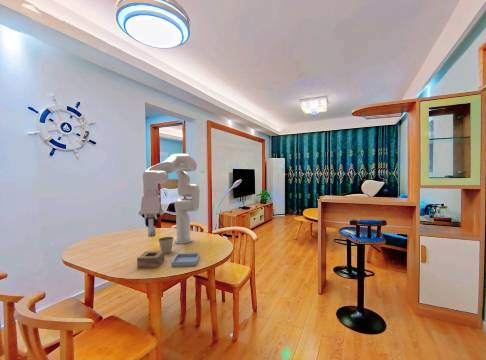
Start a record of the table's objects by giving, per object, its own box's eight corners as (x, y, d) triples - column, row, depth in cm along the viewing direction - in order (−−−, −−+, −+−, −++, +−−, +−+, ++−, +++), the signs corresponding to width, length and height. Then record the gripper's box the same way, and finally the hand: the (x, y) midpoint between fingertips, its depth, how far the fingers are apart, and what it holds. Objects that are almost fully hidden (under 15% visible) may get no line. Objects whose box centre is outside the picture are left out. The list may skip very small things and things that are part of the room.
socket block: (145, 259, 132) (145, 251, 132) (164, 259, 133) (164, 250, 133) (137, 267, 121) (137, 258, 121) (158, 267, 122) (158, 257, 122)
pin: (149, 234, 129) (148, 213, 129) (158, 234, 130) (157, 213, 129) (145, 237, 124) (145, 215, 124) (154, 237, 125) (154, 215, 124)
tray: (177, 257, 135) (177, 253, 135) (199, 257, 136) (199, 253, 136) (171, 266, 122) (171, 262, 122) (196, 265, 123) (195, 261, 123)
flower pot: (157, 255, 139) (157, 241, 139) (159, 250, 149) (158, 237, 148) (173, 253, 142) (173, 240, 142) (174, 249, 151) (173, 236, 151)
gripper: (168, 192, 130) (168, 224, 131) (138, 192, 130) (139, 224, 130) (164, 193, 123) (164, 227, 123) (132, 194, 122) (133, 228, 123)
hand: (151, 225), depth 127 cm, fingers closed on pin, 3 cm apart
